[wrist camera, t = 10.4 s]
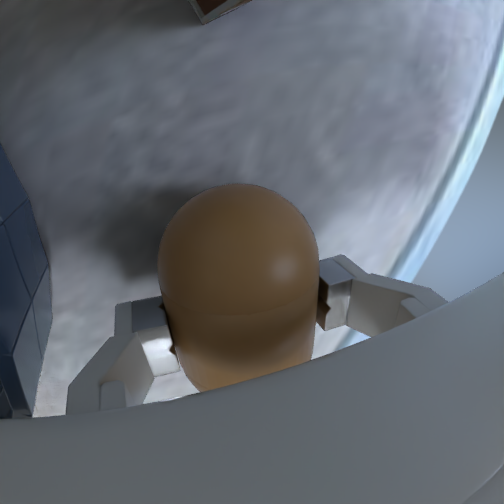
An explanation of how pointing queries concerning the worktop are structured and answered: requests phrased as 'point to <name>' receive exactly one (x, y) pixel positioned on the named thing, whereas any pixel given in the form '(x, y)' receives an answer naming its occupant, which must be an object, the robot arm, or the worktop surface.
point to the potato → (239, 285)
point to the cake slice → (214, 8)
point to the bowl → (20, 298)
